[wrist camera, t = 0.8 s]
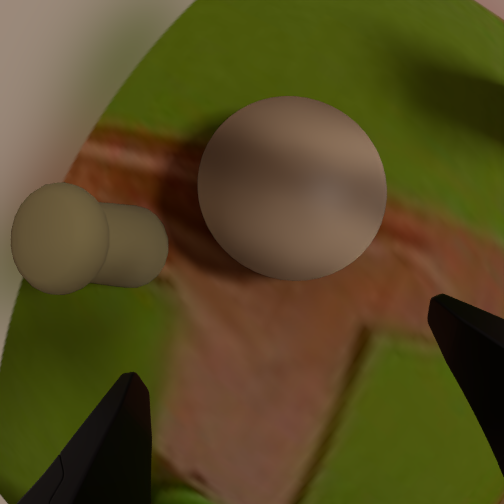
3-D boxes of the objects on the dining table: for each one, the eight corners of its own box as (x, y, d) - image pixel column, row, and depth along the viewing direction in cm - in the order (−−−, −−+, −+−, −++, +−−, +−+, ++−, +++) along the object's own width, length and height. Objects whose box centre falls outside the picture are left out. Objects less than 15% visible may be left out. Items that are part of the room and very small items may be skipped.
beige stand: (346, 298, 22) (360, 303, 19) (183, 248, 22) (172, 247, 19) (383, 145, 22) (399, 131, 19) (234, 98, 22) (232, 78, 19)
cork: (81, 248, 22) (-21, 240, 11) (130, 189, 22) (45, 139, 11) (131, 304, 22) (41, 336, 11) (185, 244, 22) (121, 230, 11)
